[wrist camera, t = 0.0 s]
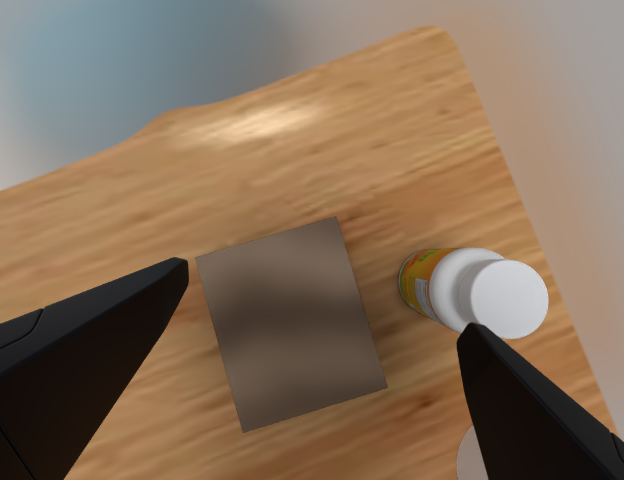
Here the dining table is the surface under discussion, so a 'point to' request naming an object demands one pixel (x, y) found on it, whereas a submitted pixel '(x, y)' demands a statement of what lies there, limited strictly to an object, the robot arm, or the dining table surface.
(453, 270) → the supplement bottle
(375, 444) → the dining table surface
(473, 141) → the dining table surface
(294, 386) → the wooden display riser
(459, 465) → the base with upright slab
